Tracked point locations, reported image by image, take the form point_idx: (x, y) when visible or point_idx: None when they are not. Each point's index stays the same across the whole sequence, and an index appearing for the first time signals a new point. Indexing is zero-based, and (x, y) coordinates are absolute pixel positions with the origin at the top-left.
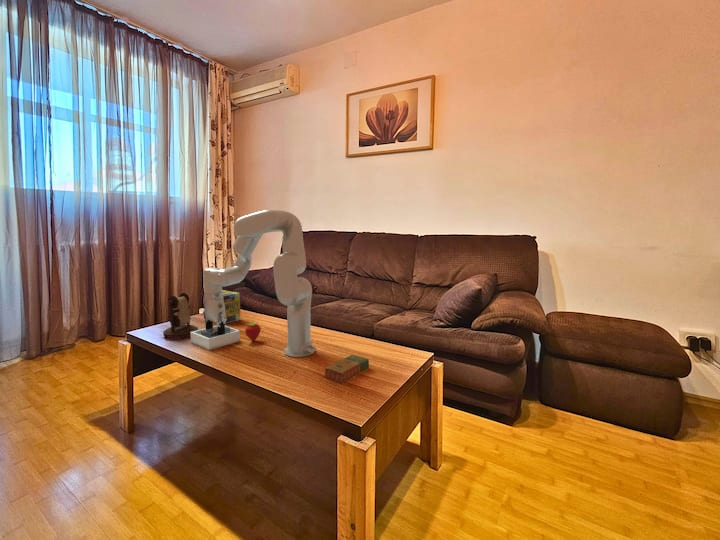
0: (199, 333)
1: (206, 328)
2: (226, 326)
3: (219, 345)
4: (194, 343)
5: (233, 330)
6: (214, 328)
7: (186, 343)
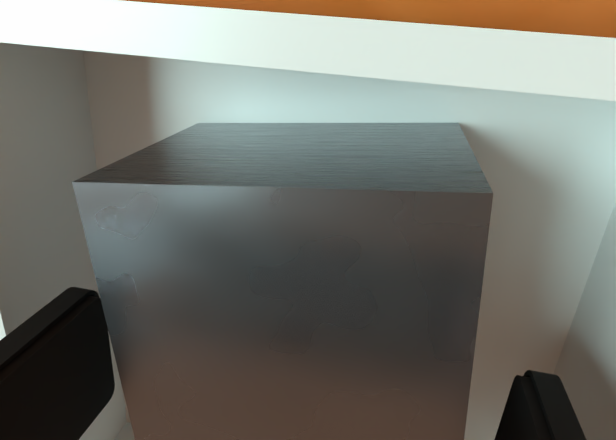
0: None
1: (72, 433)
2: (153, 26)
3: None
4: None
5: (557, 90)
6: (217, 415)
7: None
